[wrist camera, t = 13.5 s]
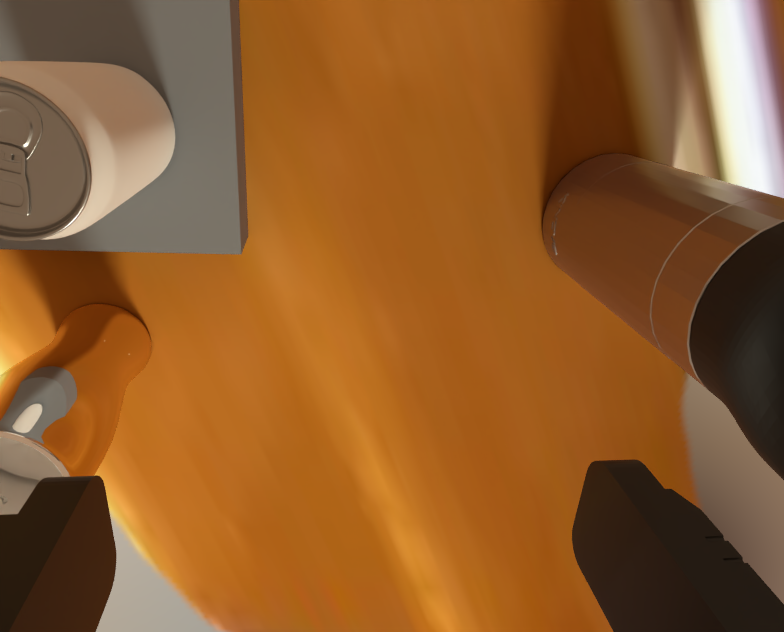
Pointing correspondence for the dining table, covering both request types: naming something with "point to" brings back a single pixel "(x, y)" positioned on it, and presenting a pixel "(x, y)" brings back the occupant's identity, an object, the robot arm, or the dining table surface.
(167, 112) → the can
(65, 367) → the beer glass
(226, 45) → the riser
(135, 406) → the dining table surface
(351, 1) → the dining table surface
